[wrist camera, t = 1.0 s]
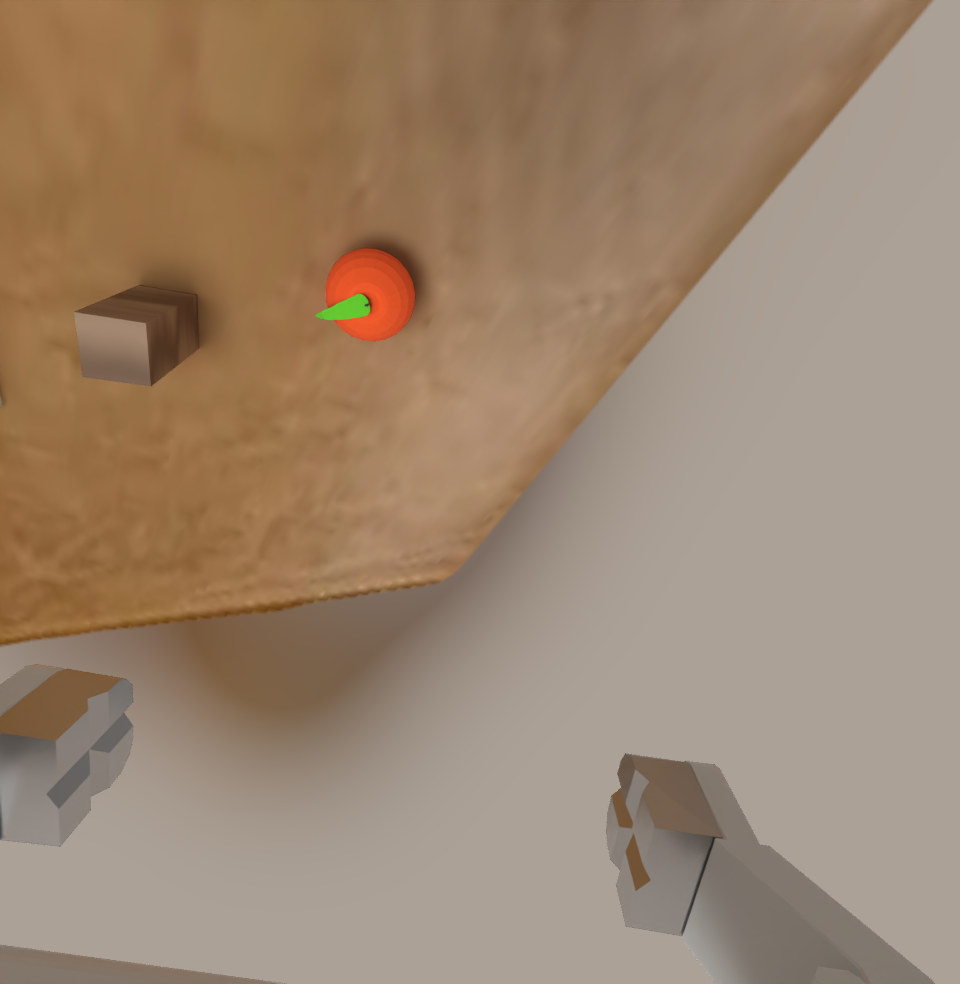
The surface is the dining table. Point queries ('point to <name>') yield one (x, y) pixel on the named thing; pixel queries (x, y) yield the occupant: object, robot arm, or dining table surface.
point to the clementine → (369, 295)
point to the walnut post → (137, 335)
